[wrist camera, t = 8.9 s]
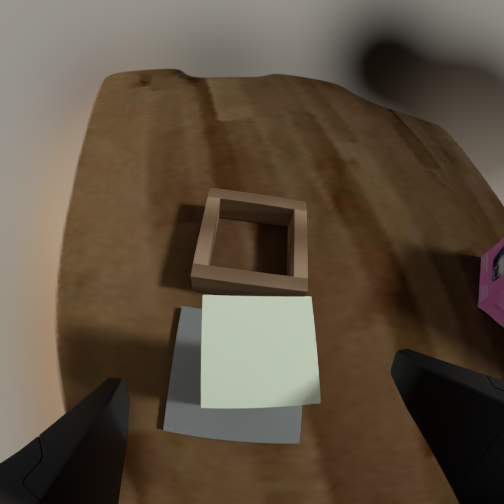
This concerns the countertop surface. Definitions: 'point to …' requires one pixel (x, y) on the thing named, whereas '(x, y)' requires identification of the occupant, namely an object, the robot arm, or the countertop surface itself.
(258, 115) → the countertop surface
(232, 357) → the sage block
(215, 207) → the walnut holder
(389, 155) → the countertop surface
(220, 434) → the rubber mat
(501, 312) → the gum box
